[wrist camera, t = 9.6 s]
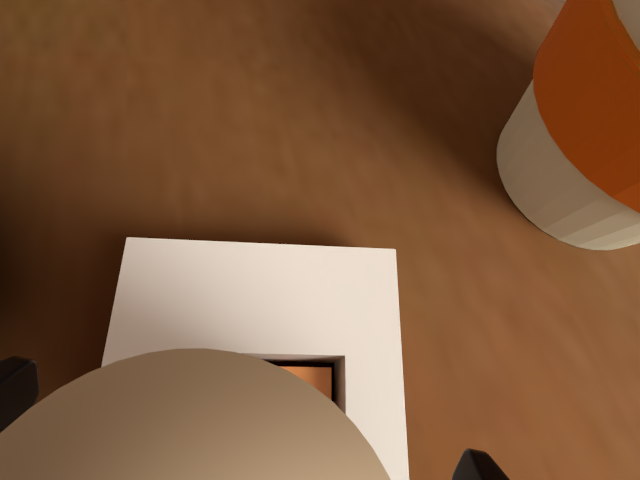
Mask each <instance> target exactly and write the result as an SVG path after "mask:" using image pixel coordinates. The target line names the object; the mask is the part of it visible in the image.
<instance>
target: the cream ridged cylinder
mask: <svg viewBox="0 0 640 480" xmlns="http://www.w3.org/2000/svg"><path fill="white" fill-rule="evenodd" d="M0 480H390V477H389V475H388V474H387V472H386V470H385V468H384V467H383V465H382V463H381V462H380V460H379V458H378V456H377V455H376V453H375V451H374V449H373V448H372V447H371V445H370V444H369V443H368V441H367V440H366V439H365V437H364V436H363V435H362V433H361V432H360V431H359V429H358V428H357V427H356V425H355V424H354V423H353V422H352V421H351V420H350V419H349V418H348V417H347V416H346V415H345V414H344V413H343V412H342V410H341V409H340V408H339V407H338V406H337V405H336V404H335V403H334V402H333V401H331V400H330V399H329V398H328V397H326V396H325V395H324V394H322V393H321V392H320V391H319V390H317V389H316V388H315V387H314V386H312V385H311V384H310V383H308V382H306V381H304V380H303V379H301V378H299V377H298V376H296V375H294V374H293V373H291V372H289V371H288V370H286V369H283V368H281V367H278V366H276V365H274V364H271V363H269V362H267V361H264V360H262V359H259V358H255V357H251V356H247V355H244V354H240V353H236V352H231V351H223V350H215V349H207V348H194V349H171V350H164V351H157V352H149V353H145V354H141V355H137V356H134V357H130V358H126V359H122V360H119V361H116V362H113V363H111V364H108V365H106V366H103V367H101V368H98V369H96V370H93V371H91V372H88V373H87V374H85V375H83V376H81V377H79V378H77V379H75V380H73V381H72V382H70V383H68V384H66V385H64V386H62V387H60V388H59V389H57V390H56V391H54V392H53V393H51V394H50V395H48V396H47V397H45V398H44V399H42V400H41V401H40V402H38V403H37V404H35V405H34V406H32V407H31V408H29V409H28V410H27V411H26V412H25V413H23V414H22V415H21V416H20V417H19V418H18V419H16V420H15V421H14V422H13V423H12V424H10V425H9V426H8V427H7V428H6V429H5V430H3V431H2V432H1V433H0Z"/></svg>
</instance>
